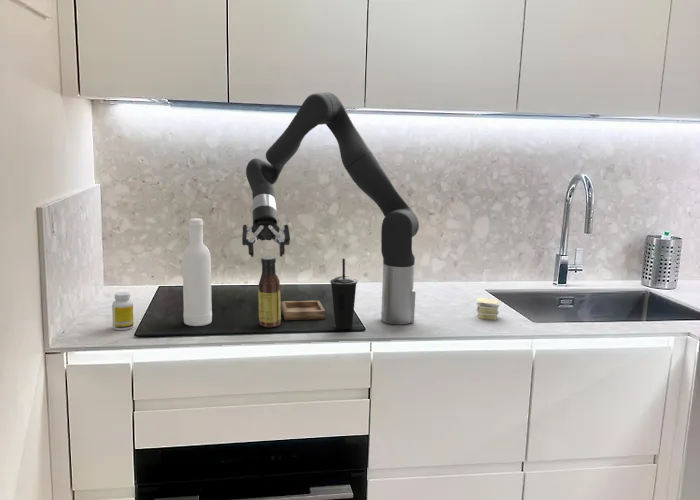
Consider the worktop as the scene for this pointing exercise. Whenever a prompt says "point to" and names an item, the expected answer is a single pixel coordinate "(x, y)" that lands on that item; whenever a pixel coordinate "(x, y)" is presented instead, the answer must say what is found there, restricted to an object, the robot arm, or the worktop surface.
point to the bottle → (197, 278)
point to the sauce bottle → (269, 294)
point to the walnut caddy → (302, 310)
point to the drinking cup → (343, 300)
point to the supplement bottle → (122, 311)
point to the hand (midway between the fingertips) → (267, 255)
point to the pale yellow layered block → (487, 308)
